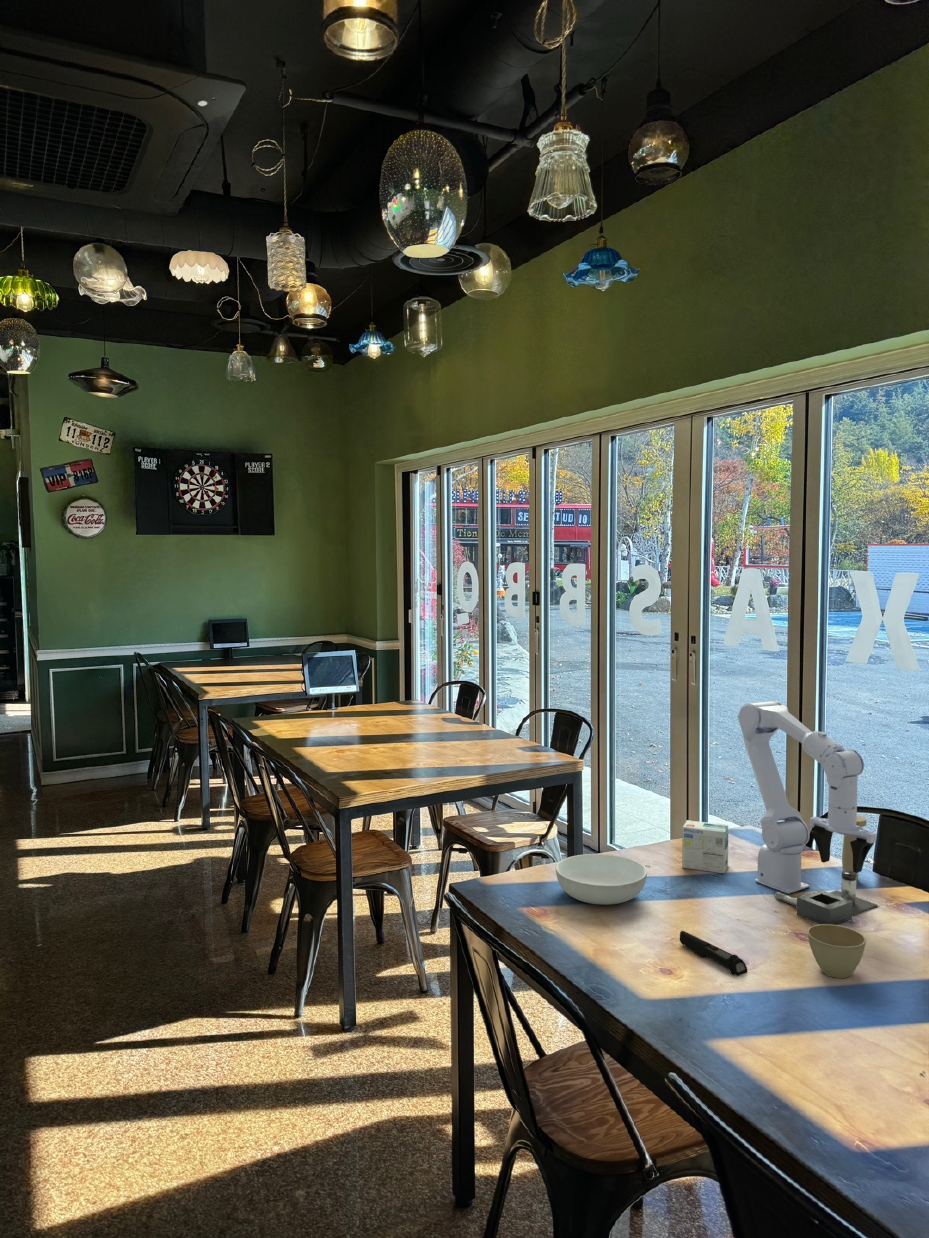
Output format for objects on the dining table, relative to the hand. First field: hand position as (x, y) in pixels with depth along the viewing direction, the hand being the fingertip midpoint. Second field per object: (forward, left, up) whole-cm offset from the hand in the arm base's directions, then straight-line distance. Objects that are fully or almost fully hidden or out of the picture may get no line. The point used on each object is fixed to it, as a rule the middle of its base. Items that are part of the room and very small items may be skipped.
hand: (841, 866), depth 184 cm
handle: (-10, +19, -10) cm, 24 cm away
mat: (-2, +5, -10) cm, 11 cm away
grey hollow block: (-4, -6, -10) cm, 12 cm away
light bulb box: (-35, -4, -10) cm, 37 cm away
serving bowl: (-35, -39, -10) cm, 53 cm away
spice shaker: (-1, +4, -10) cm, 11 cm away
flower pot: (+16, -26, -10) cm, 32 cm away
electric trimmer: (0, -41, -11) cm, 42 cm away
